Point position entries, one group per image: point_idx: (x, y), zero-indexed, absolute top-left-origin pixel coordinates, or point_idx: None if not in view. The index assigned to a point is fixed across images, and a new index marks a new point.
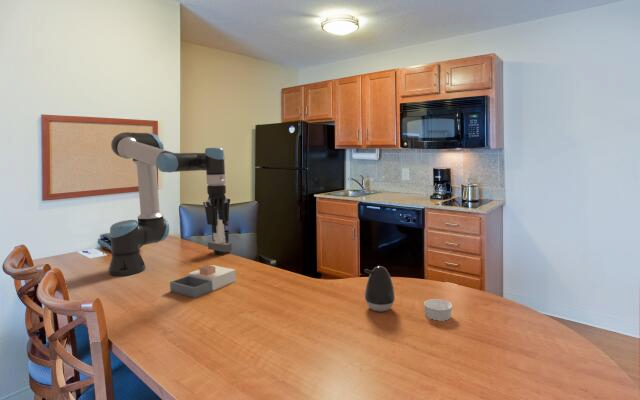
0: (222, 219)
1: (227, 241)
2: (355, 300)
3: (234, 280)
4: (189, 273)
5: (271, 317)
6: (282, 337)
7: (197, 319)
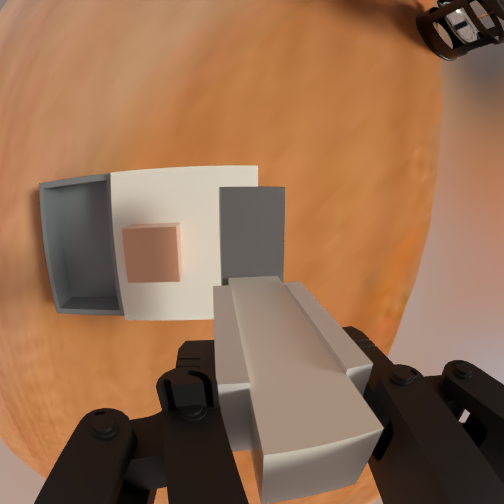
0: (377, 469)
1: (472, 47)
2: None
3: None
4: (111, 179)
5: None
6: None
7: (40, 384)
